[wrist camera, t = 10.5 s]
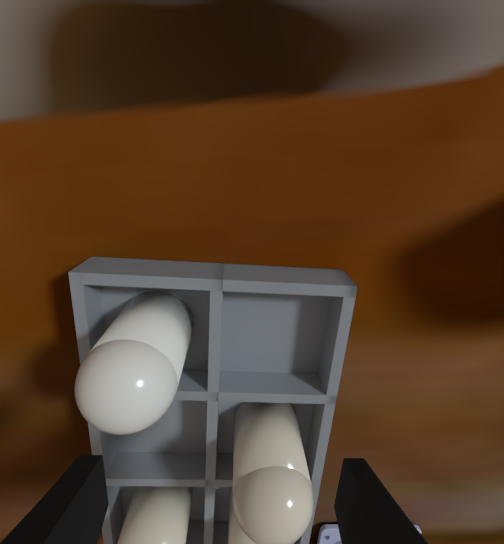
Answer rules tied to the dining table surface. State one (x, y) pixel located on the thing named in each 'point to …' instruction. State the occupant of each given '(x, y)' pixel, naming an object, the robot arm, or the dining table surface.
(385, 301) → the dining table surface
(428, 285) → the dining table surface
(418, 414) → the dining table surface
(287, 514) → the seated eggs
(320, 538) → the robot arm
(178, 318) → the white egg-shaped capsule
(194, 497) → the carton
